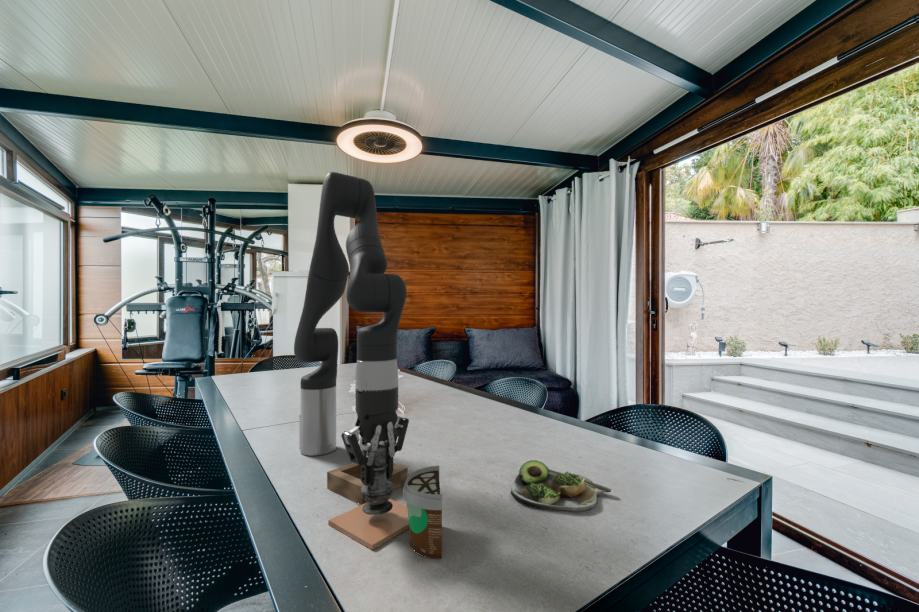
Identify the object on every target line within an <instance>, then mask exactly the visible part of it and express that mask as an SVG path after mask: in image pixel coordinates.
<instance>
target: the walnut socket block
mask: <svg viewBox="0 0 919 612" xmlns="http://www.w3.org/2000/svg"><path fill="white" fill-rule="evenodd" d="M408 471H409V469H408V467H407V466H406V467H405V466H402V465H400V464H397V463H394V462H393V474H392V477H391V478H389V479H387V481H390V482H392V483H393V484H394V489H393V490H392V492H394V490H395V491H397V490H399V489H401V488H404V484H405V481H406V479H407V477H408V476H409V475H408V474H409V472H408ZM363 485H364V484H363V483H362V482H361V465H358V464H356V463H353V462H350V463H349V464H345V465H343V466H341V467H338V468H334V469H331V470H328V471H326V489H328V490H330V491H332V492H334V493H335V494H337V495H340V496H341V495H342V496H341V497H344V498H345V499H348V500H350V501H352V502H354V503H356V504H358V503H359V504H358V505H359V506H360V505H362V504H364V503H367V502H366V501H365V499H364V497H363V493H362V492H361V487H362V486H363Z"/></svg>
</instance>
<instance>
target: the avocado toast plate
mask: <svg viewBox="0 0 919 612" xmlns="http://www.w3.org/2000/svg"><path fill="white" fill-rule="evenodd" d="M518 472H519V473H518V474H517V475H516V477H515V480H514V482H513V484H512V486H511V490H510V494H511V496H512V497H513V498H514V499H515V500H516V501H517V502H518V503H519V504H522V505H524V506H526V507H530V508H534V509H539V510H548V511H550V510H551V511H557V512H558V511H559V512H583V511H587V510H589V509H591V508H593V507H595V506H596V504H597V500H598V499H597V498H598V497H597V496H598V495H599V494H602V493H611V492H612V489H611V488H610V487H607V486H603V485H601V484H598V483H594V482H593V480H591V478H588V477H586V476H585V475H582V474H578V473H572V472H569V471H566V472H559V471H557V470H553V469H549V467H548V466H547V465H546V464H545V463H543V462H542V461H539V460H536V459H535V460H534V459H533V460H527V461H526V462H524V463H523V464H521V466H520V468H519V471H518ZM565 499H566V500H577V501H578V502H579V504H576V505H571V506H570V505H567V506H566V505H555V504H556V503H557V502H558V501H560V500H565Z"/></svg>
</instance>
